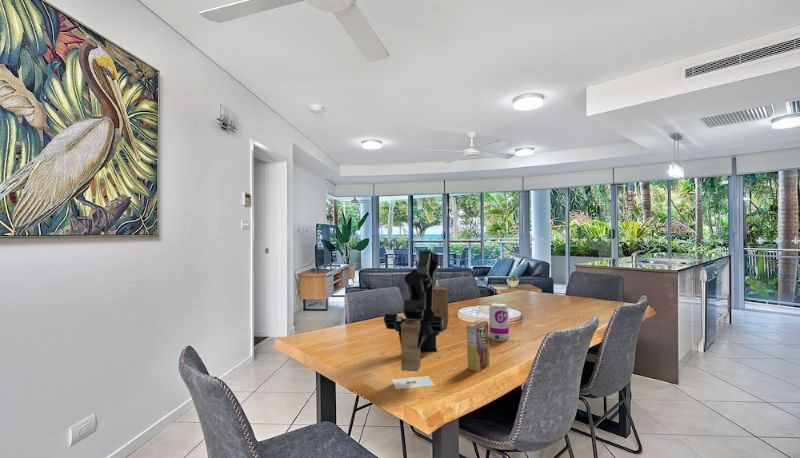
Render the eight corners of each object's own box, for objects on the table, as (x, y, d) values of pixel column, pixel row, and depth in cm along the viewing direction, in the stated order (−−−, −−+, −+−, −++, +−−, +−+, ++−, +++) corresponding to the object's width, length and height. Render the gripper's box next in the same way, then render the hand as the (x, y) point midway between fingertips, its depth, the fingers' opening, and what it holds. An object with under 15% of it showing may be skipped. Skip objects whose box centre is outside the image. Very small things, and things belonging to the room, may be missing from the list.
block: (449, 329, 169) (449, 288, 170) (435, 330, 168) (434, 289, 168) (441, 324, 180) (440, 285, 180) (427, 325, 178) (427, 286, 179)
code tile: (428, 377, 112) (428, 376, 112) (434, 386, 105) (434, 385, 105) (391, 380, 109) (391, 379, 109) (395, 389, 103) (395, 388, 103)
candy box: (478, 362, 125) (478, 319, 125) (489, 364, 122) (489, 321, 123) (466, 369, 118) (466, 324, 119) (478, 372, 116) (477, 326, 116)
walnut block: (404, 364, 110) (404, 320, 110) (420, 365, 109) (419, 320, 109) (401, 370, 105) (400, 324, 105) (417, 371, 104) (417, 325, 104)
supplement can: (511, 341, 149) (510, 306, 150) (492, 341, 149) (491, 306, 150) (505, 336, 157) (505, 302, 158) (487, 336, 157) (487, 303, 158)
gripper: (385, 288, 114) (375, 331, 103) (441, 290, 109) (438, 335, 98) (391, 307, 121) (382, 349, 110) (444, 309, 117) (441, 353, 106)
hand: (410, 346), depth 106 cm, fingers closed on walnut block, 5 cm apart
